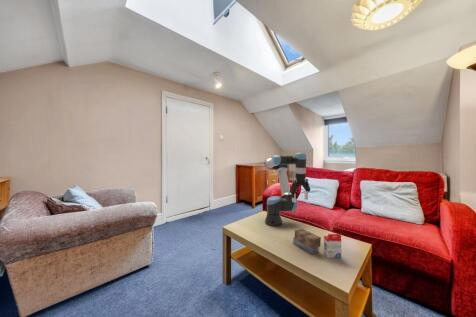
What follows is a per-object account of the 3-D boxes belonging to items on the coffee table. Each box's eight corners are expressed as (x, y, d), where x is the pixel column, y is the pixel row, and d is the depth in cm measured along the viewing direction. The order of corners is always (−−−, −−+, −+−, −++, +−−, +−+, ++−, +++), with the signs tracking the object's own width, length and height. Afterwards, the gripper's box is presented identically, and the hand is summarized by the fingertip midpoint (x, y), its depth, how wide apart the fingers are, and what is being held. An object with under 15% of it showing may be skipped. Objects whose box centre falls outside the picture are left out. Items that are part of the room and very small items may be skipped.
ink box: (336, 253, 114) (337, 230, 113) (341, 257, 109) (341, 234, 108) (323, 253, 113) (323, 230, 113) (327, 258, 108) (328, 234, 108)
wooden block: (294, 239, 124) (294, 230, 123) (301, 236, 127) (301, 228, 127) (313, 249, 111) (313, 239, 110) (320, 246, 114) (320, 237, 114)
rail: (293, 243, 126) (293, 232, 125) (299, 241, 129) (299, 231, 128) (312, 254, 112) (312, 243, 111) (318, 252, 115) (318, 240, 114)
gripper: (292, 174, 127) (292, 204, 128) (315, 172, 139) (315, 199, 140) (284, 173, 133) (284, 201, 134) (307, 171, 146) (307, 197, 146)
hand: (300, 200), depth 137 cm, fingers open, 13 cm apart
